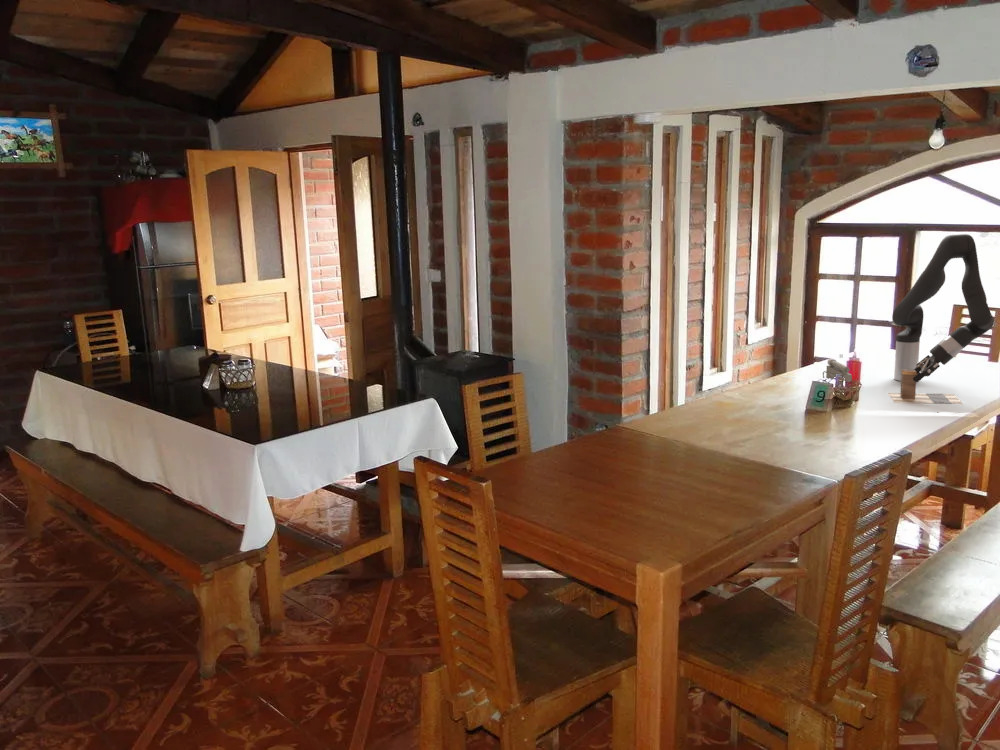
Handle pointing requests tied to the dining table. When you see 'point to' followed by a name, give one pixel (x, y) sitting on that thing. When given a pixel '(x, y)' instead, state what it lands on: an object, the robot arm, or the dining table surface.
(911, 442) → the dining table surface
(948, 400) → the subfloor panel
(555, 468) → the dining table surface
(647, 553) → the dining table surface
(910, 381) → the walnut block
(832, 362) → the geiger counter
